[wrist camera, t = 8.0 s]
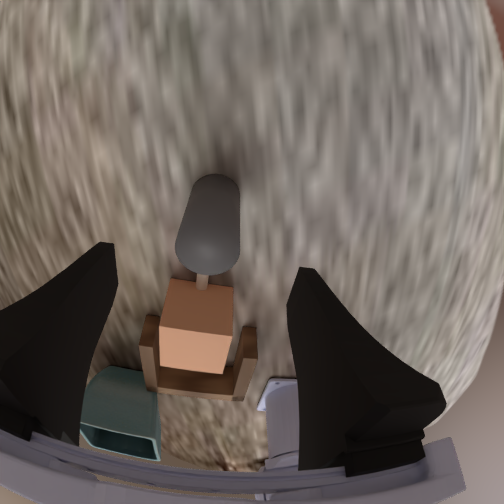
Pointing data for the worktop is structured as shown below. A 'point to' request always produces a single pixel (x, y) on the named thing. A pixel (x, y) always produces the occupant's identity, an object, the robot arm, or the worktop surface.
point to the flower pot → (121, 414)
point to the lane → (196, 382)
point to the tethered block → (203, 280)
